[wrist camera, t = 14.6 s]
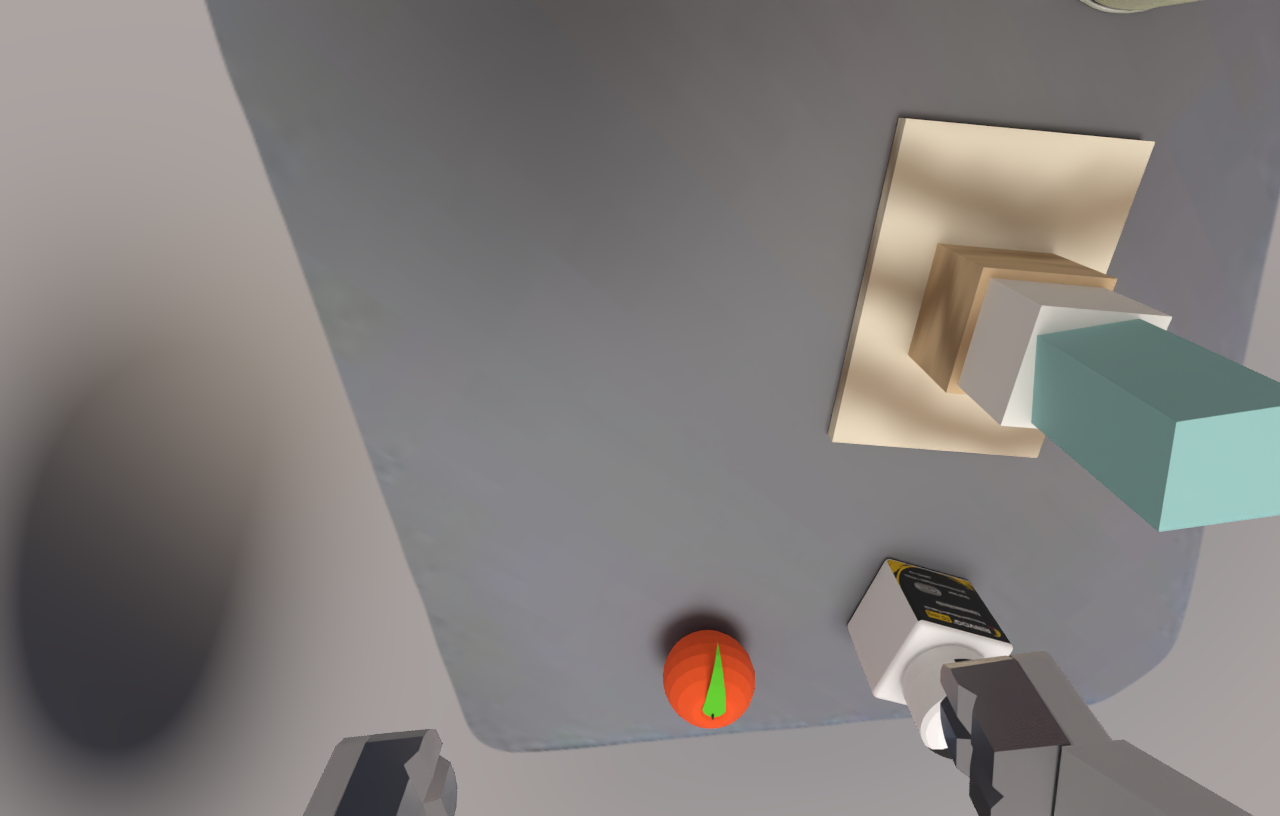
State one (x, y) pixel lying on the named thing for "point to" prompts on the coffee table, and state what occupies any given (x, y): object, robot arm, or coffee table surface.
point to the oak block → (977, 300)
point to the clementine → (709, 679)
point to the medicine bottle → (921, 639)
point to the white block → (1032, 338)
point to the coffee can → (1130, 4)
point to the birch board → (980, 217)
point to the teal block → (1161, 422)
